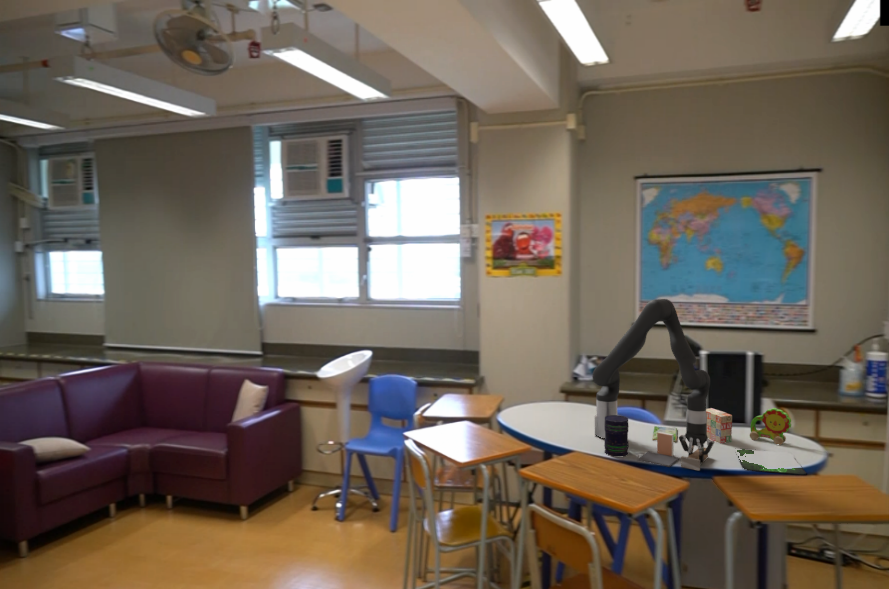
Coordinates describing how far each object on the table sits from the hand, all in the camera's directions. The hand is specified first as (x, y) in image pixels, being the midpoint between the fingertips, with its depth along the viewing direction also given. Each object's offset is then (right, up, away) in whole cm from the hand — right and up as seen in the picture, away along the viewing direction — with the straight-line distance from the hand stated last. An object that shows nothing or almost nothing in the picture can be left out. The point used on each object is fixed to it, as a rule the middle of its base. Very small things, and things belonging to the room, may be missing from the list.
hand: (696, 462), depth 242 cm
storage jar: (-28, 0, +15) cm, 31 cm away
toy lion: (+43, +2, +24) cm, 49 cm away
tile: (-8, 0, +11) cm, 14 cm away
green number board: (+1, +2, +37) cm, 37 cm away
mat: (-13, 0, +5) cm, 14 cm away
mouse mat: (+29, 0, +1) cm, 29 cm away
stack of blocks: (+20, +2, +34) cm, 40 cm away
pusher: (+1, 0, +2) cm, 2 cm away
